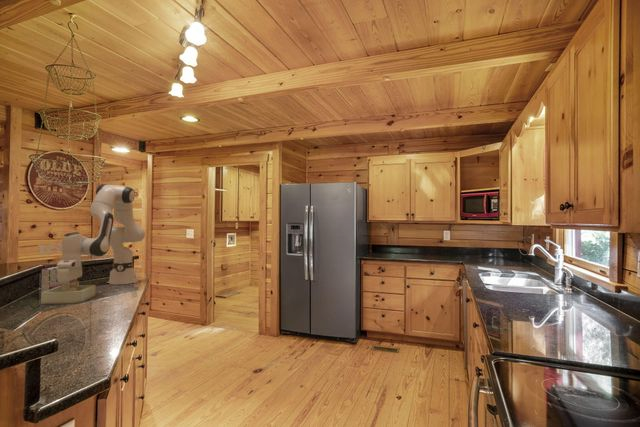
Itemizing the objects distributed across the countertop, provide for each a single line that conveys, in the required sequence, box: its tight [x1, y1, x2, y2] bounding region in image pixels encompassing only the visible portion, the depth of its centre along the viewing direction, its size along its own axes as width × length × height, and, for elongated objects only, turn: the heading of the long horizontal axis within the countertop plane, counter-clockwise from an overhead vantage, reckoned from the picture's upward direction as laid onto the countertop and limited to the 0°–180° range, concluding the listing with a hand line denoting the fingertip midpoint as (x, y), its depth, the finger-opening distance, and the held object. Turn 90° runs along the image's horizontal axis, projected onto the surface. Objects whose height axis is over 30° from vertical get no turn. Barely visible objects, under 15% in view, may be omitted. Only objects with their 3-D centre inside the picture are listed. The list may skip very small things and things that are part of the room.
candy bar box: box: [40, 266, 62, 294], centre depth 185 cm, size 11×5×16 cm, turn 179°
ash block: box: [62, 280, 80, 292], centre depth 178 cm, size 4×6×5 cm
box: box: [40, 284, 97, 306], centre depth 178 cm, size 18×18×6 cm
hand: (70, 288), depth 178 cm, fingers closed on ash block, 4 cm apart
